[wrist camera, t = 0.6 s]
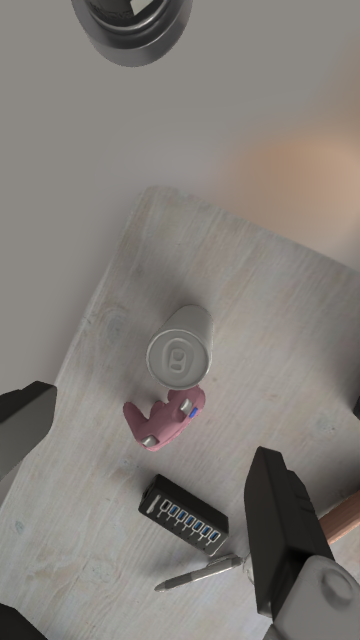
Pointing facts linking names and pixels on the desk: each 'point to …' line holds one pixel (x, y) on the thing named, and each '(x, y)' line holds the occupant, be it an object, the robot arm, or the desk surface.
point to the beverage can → (182, 349)
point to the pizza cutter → (329, 525)
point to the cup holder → (357, 409)
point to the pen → (201, 572)
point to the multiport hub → (184, 515)
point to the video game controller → (165, 417)
